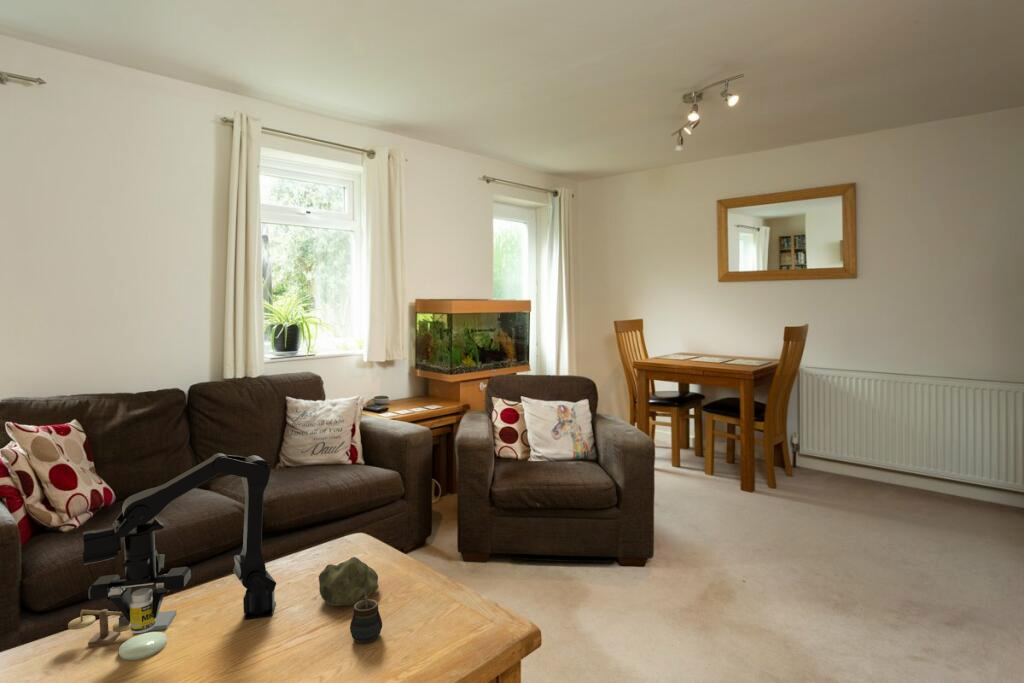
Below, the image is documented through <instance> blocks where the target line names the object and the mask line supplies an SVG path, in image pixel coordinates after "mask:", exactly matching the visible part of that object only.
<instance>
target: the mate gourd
mask: <svg viewBox="0 0 1024 683" xmlns="http://www.w3.org/2000/svg"><path fill="white" fill-rule="evenodd" d="M364 596H365V598H364V599H362V600H361V601H359V602H357V603H356V604H355V605H353V607H352V609H353V614H352V618H351V619H350V620H351V621H350V624H349V630H350V635H351V638H352V639H353V640H354V641H355V642H357V643H359V644H369V643H372V642H374V641H375V640H376V639H377V638H378V637H379V636H380V634H381V632H382V628H383V621H382V617H381V613H380V611H379V603H378V601H376V600H375V599H370V598H369V599H368V596H367V593H366V589H364Z"/></svg>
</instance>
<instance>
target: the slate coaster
mask: <svg viewBox="0 0 1024 683" xmlns="http://www.w3.org/2000/svg"><path fill="white" fill-rule="evenodd" d="M176 615H177V609H174V610H166V611H165V610H164V611H159V612H158V616H157V617H156V618H155V621H156V624H155V626H154V627H153V628H152V629H150V630H148V631H147V632H155V631H159V630H161V631H162V630H166V629H168V628H169V627H170V625H171V623H172V621H173V620H174V618H175V617H176Z"/></svg>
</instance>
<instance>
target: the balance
mask: <svg viewBox="0 0 1024 683" xmlns="http://www.w3.org/2000/svg"><path fill="white" fill-rule="evenodd" d="M79 615H80V616H79V617H76V618H74V619H72V620H71V621H69V622H68V624H67V628H68V629H69V630H70V631H71V630H72V631H74V630H75V631H76V630H80V629H84V628H87V627H89V626H92V625H93V624H94V623H95V622H96V616H95V615H99V632H95V633H94V634H93V636H92V637H91V638H90V639H89V640H88V642H87V647H89V648H90V647H96V646H104V645H111V644H114V643H115V642H116V641H117V639H118V638H119V636H121V634H122V633H123V632H126V631H131V625H130V622H128V621H127V619H126V618H125V616H124V615H123V614H122V612H121V611H109V610H108V608H104V609H101V610H97V609H96V610H95V609H93V610H92V609H91V610H90V609H81V611H80V614H79ZM109 616H115V617H117V616H118V621H117V622H115V623H114V624H113V625H112V630H110V629H109ZM109 630H110V631H109Z"/></svg>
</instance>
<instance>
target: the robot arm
mask: <svg viewBox="0 0 1024 683" xmlns="http://www.w3.org/2000/svg"><path fill="white" fill-rule="evenodd" d="M271 472H272V469H271V465H270V464H269V462H267V461H266V460H265V459H264V458H262V457H261V456H258V455H253V454H252V455H249V456H247V457H246V456H240V455H231V454H224V453H222V452H218V453H214V454H213V455H212V456H211V457H210V458H208V459H206V460H204V461H202V462H201V463H199V464H197V465H195V466H194V467H191V468H190V469H188V470H187V471H185V472H182V473H181V474H179V475H178V476H175V477H174V478H172V479H170V480H169V481H167V482H166V483H164V484H160V485H159V486H156V487H152V488H147V489H145V490H142V491H140V492H136V493H134V494H133V495H130V496H128V497H127V498H126V499H125V500H124V502H123V503H122V507H121V512H120V513H119V515H118V516H117V517H116V519H115V520H114V521H113V523H112V526H111V527H107V528H101V529H96V530H95V529H94V530H87V531H84V532H83V533H82V537H83V539H82V540H83V543H82V560H83V561H82V562H83V566H85V565H90V564H95V563H99V562H103V561H108V560H112V559H115V558H116V557H117V556H119V553H121V552H122V540H121V538H123V542H124V543H123V544H124V561H123V562H122V567H123V568H125V578H124V579H121V578H120V575H119V574H108V575H101V576H99V577H98V578H97V579H96V581H94V582H93V583H92V584H91V585H90V586H89V588H88V590H87V592H88V593H87V594H88V596H87V597H88V599H89V600H98V599H104V598H106V601H108V602H112V603H113V604H114V605H115V606H116V607H117V609H118V610H119V612H122V614H123V615H124V616H125V618H126V619H127V621H128V622H130V603H131V602H132V601H131V594H132V593H131V592H132V588H138V587H149V586H155V587H156V588H155V589H154V591H152V601H153V617H154V618H156V617H157V616H158V612H160V610H161V606H162V603H163V600H164V597H165V595H166V594H168V593H169V592H170V591H173V590H179V589H184V588H185V587H186V585H187V583H188V582H189V581H190V579H191V578H192V571H191V569H190V568H189V566H181V567H172V568H170V570H169V571H168V573H164V574H159V573H160V572H161V569H164V568H165V555H166V554H158V549H156V544H155V543H156V540H155V538H156V537H155V531H156V532H157V531H159V530H164V529H165V526H164V523H163V521H162V520H161V521H160V520H158V519H157V516H158V515H159V514H161V512H163V510H164V509H166V508H167V506H168V505H169V504H171V503H172V502H173V501H174V500H177V499H179V498H181V497H182V496H183V495H185V494H186V493H188V492H190V491H192V490H194V489H195V488H197V487H199V486H201V485H202V484H204V483H206V482H207V481H209V480H211V479H212V478H215V477H216V476H218V475H219V474H222V473H224V474H229V475H233V476H236V477H240V478H241V482H242V487H243V490H244V511H243V512H244V513H243V515H244V516H243V536H242V537H243V539H242V540H243V541H242V543H243V544H242V550H241V552H240V554H237V555H236V554H235V555H233V560H234V567H233V569H232V571H233V573H234V575H235V576H236V577H237V579H238V581H240V584H241V585H242V587H243V588H245V589H246V590H245V593H244V595H243V598H242V600H243V601H242V602H243V606H242V607H243V614H244V620H248V619H249V620H250V619H256V618H264V617H271V616H273V615H274V611H275V608H276V605H277V602H276V600H275V590H276V586H277V582H276V580H275V578H273V576H271V574H270V573H269V571H268V570H267V569H266V568H267V567H266V563H265V562H266V561H265V558H264V554H263V551H262V546H263V545H262V544H263V543H262V541H263V519H264V518H263V516H264V495H265V492H266V489H267V487H268V485H269V482H270V481H269V480H270V477H271ZM157 573H158V575H157ZM107 595H108V596H107Z"/></svg>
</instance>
